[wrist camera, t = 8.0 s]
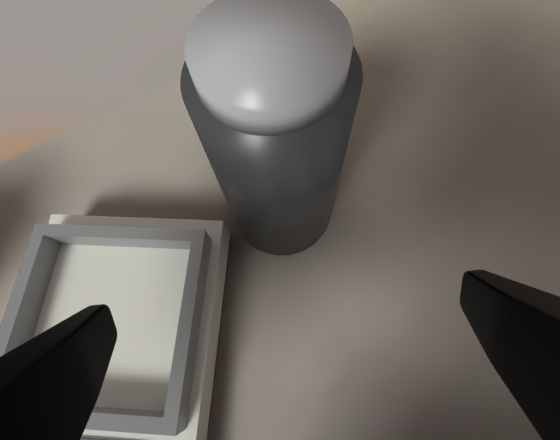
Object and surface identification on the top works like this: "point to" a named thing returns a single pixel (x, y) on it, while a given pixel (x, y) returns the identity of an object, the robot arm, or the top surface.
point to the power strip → (132, 314)
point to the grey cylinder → (273, 111)
